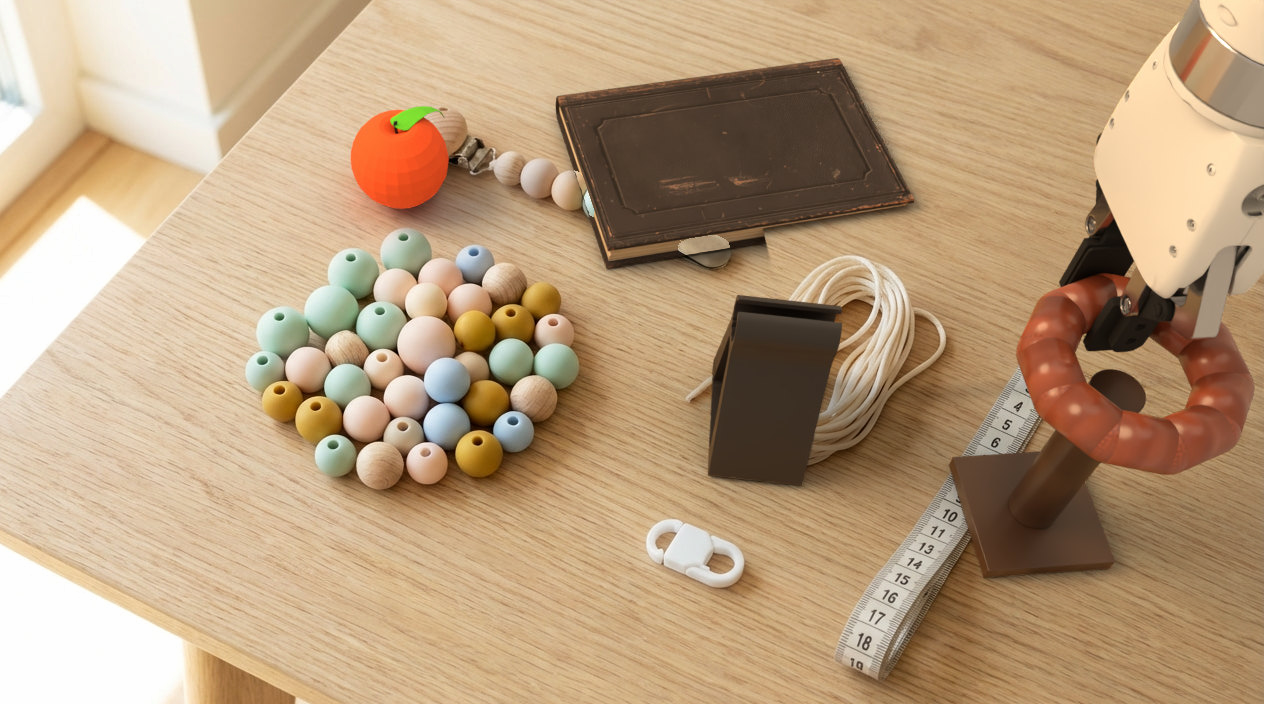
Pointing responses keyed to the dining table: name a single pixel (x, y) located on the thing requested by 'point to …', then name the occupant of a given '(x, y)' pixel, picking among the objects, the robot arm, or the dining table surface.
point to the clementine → (400, 157)
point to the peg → (1040, 500)
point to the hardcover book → (725, 157)
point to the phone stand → (770, 388)
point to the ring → (1102, 424)
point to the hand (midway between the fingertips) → (1099, 314)
